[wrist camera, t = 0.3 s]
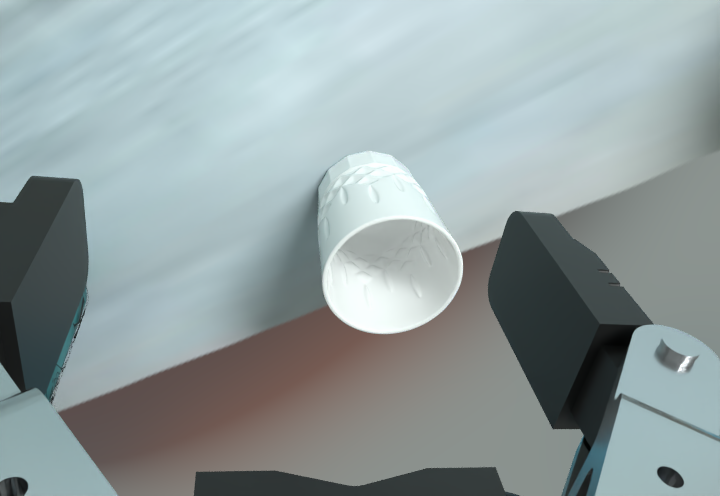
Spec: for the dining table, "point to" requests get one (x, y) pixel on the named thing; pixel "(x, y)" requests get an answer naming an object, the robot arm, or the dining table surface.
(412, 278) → the white cup
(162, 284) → the dining table surface
